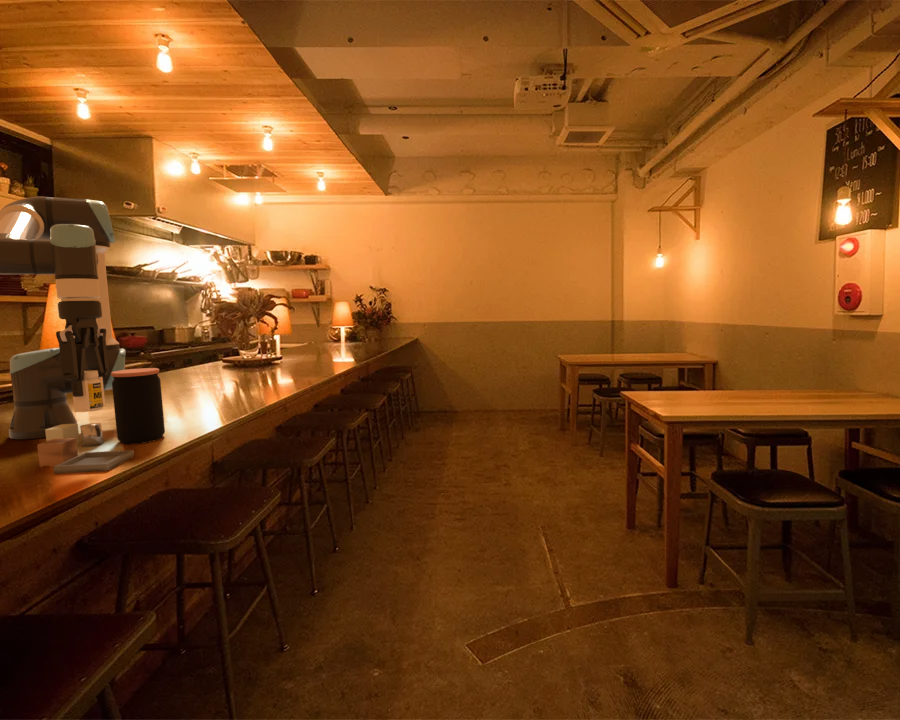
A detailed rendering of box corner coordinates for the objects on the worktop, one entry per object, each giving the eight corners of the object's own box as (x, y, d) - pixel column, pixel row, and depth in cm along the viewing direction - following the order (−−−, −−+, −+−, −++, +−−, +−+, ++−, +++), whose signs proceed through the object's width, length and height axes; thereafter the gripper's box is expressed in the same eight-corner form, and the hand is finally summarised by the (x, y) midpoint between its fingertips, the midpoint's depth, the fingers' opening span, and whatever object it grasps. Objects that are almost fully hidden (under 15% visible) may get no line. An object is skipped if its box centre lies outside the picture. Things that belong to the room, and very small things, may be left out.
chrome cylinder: (90, 442, 135) (88, 423, 134) (107, 441, 135) (105, 422, 134) (78, 446, 130) (75, 426, 130) (95, 445, 130) (93, 426, 130)
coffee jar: (174, 434, 141) (168, 367, 139) (147, 444, 130) (140, 373, 129) (136, 434, 142) (130, 368, 140) (107, 444, 131) (100, 373, 130)
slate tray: (85, 458, 119) (84, 452, 119) (134, 456, 120) (133, 450, 120) (54, 473, 109) (53, 466, 109) (107, 470, 110) (107, 463, 109)
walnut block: (55, 460, 119) (52, 439, 118) (78, 459, 119) (76, 437, 119) (39, 467, 114) (37, 444, 114) (64, 466, 114) (61, 443, 114)
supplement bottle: (98, 411, 111) (94, 372, 111) (72, 413, 110) (68, 373, 109) (106, 407, 116) (103, 369, 115) (82, 408, 115) (78, 370, 114)
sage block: (63, 443, 135) (61, 424, 134) (79, 442, 135) (77, 423, 134) (47, 449, 129) (45, 429, 128) (64, 449, 129) (62, 429, 129)
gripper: (86, 301, 119) (96, 402, 122) (30, 300, 102) (43, 418, 104) (120, 300, 120) (130, 400, 122) (71, 299, 102) (83, 416, 105)
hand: (90, 408), depth 113 cm, fingers closed on supplement bottle, 5 cm apart
